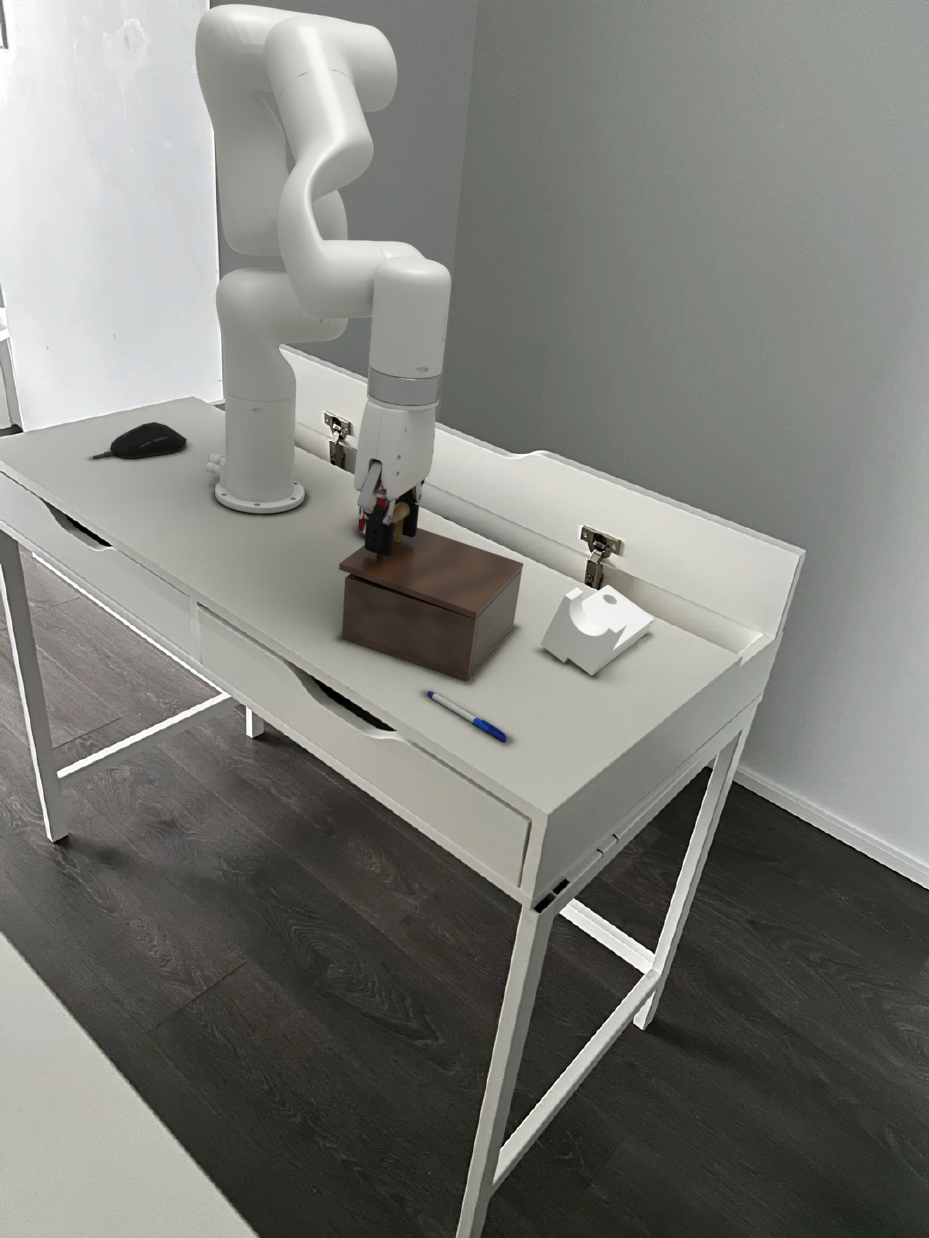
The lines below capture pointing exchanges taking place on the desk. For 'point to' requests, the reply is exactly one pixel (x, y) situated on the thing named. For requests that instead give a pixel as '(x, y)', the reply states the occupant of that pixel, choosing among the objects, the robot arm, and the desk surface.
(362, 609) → the chest
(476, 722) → the ballpoint pen
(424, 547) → the lid
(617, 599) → the bracket
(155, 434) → the gaming mouse
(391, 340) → the robot arm
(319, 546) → the desk surface
